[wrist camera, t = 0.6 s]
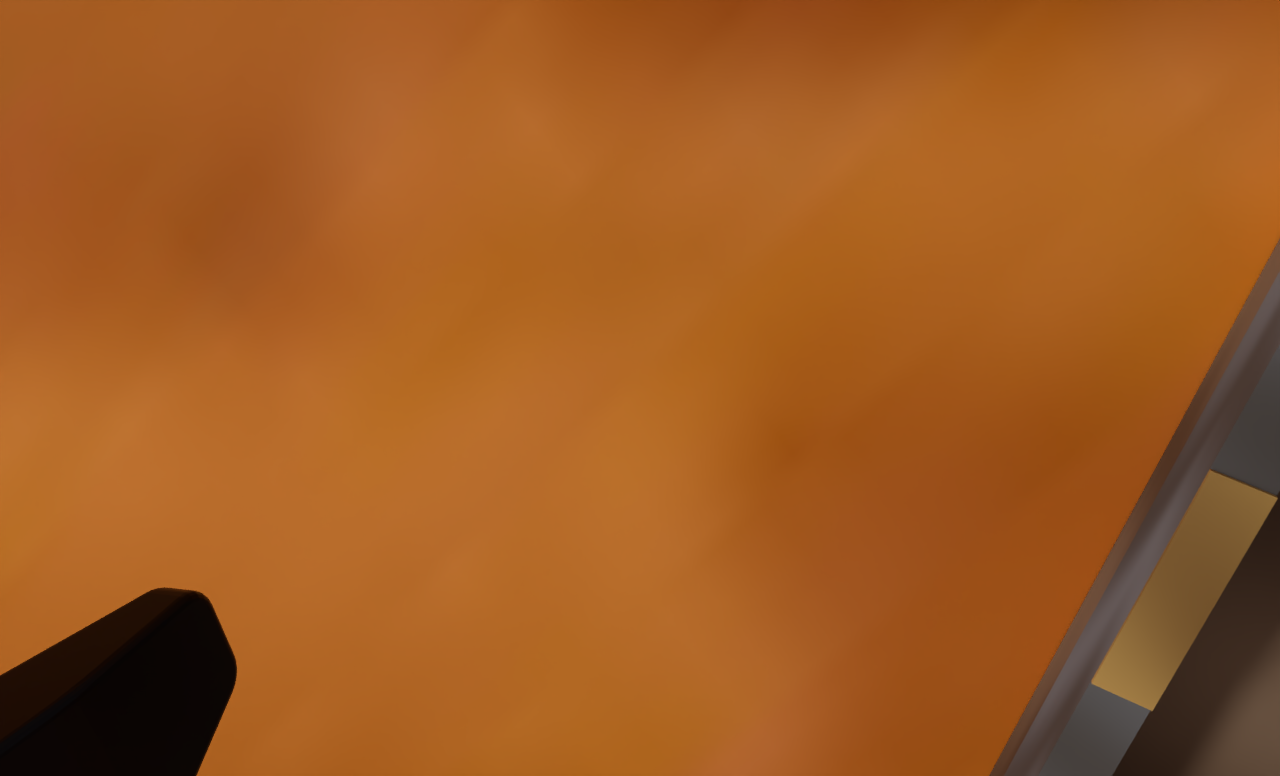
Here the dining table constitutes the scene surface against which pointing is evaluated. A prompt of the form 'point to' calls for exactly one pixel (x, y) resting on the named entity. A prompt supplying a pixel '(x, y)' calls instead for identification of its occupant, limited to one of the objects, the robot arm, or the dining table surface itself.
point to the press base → (1183, 596)
